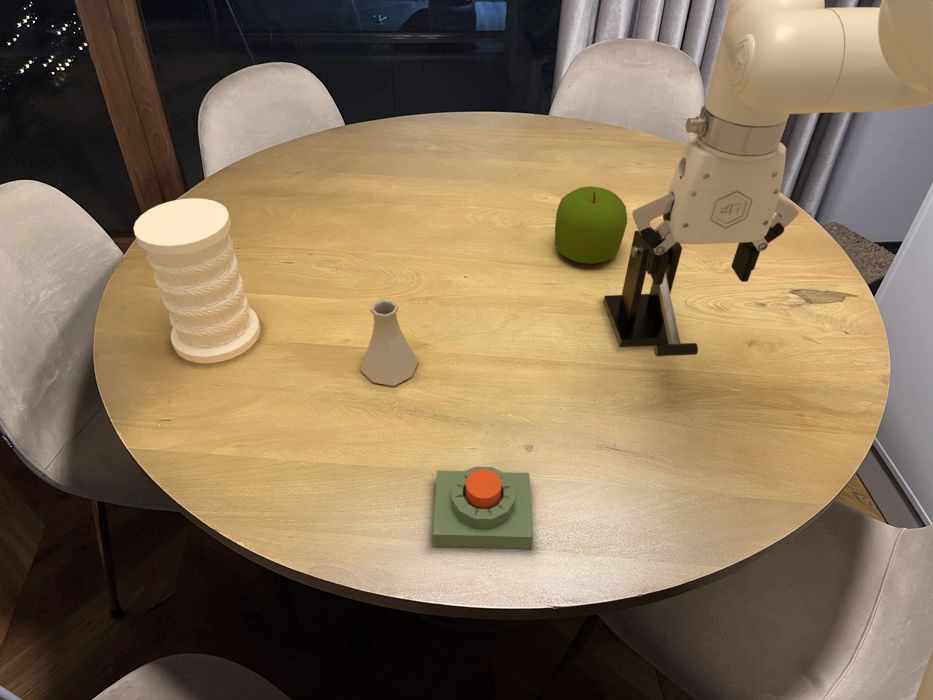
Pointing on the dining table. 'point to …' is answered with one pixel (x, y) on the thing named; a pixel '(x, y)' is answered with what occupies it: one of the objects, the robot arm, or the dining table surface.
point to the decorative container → (198, 279)
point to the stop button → (483, 488)
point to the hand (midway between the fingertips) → (697, 276)
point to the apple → (590, 225)
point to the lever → (671, 327)
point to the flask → (388, 348)
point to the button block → (482, 513)
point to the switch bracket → (640, 299)
